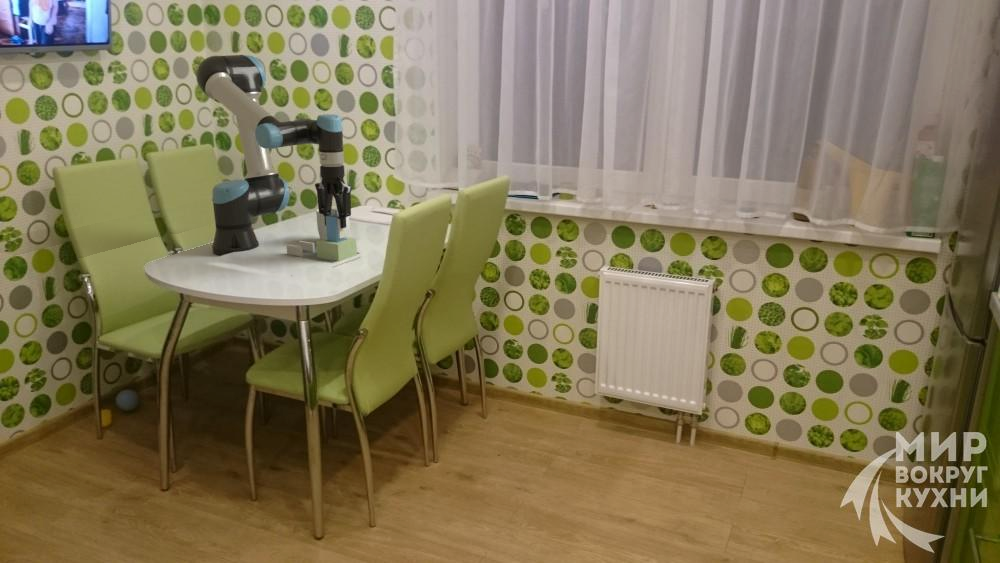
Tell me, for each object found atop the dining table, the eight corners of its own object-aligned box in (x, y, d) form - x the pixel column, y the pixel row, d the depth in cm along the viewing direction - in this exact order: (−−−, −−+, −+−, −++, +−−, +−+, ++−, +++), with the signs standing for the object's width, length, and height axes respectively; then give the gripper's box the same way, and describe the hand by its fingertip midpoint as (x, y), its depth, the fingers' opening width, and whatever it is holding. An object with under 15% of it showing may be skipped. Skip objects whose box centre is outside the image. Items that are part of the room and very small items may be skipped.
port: (317, 257, 262) (316, 241, 261) (335, 251, 270) (334, 235, 268) (338, 261, 258) (337, 244, 256) (356, 254, 265) (356, 238, 264)
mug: (360, 250, 277) (358, 212, 273) (330, 254, 271) (327, 216, 267) (343, 240, 289) (341, 205, 285) (313, 245, 283) (311, 208, 279)
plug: (327, 246, 262) (325, 210, 258) (335, 243, 265) (333, 207, 262) (337, 247, 260) (335, 211, 257) (345, 245, 263) (343, 209, 260)
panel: (286, 258, 266) (285, 245, 265) (315, 249, 278) (314, 236, 276) (332, 267, 257) (331, 253, 255) (360, 257, 268) (360, 244, 267)
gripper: (303, 164, 256) (308, 235, 263) (345, 168, 248) (349, 242, 255) (319, 160, 262) (323, 231, 269) (360, 165, 254) (364, 237, 261)
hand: (336, 236), depth 262 cm, fingers closed on plug, 4 cm apart
